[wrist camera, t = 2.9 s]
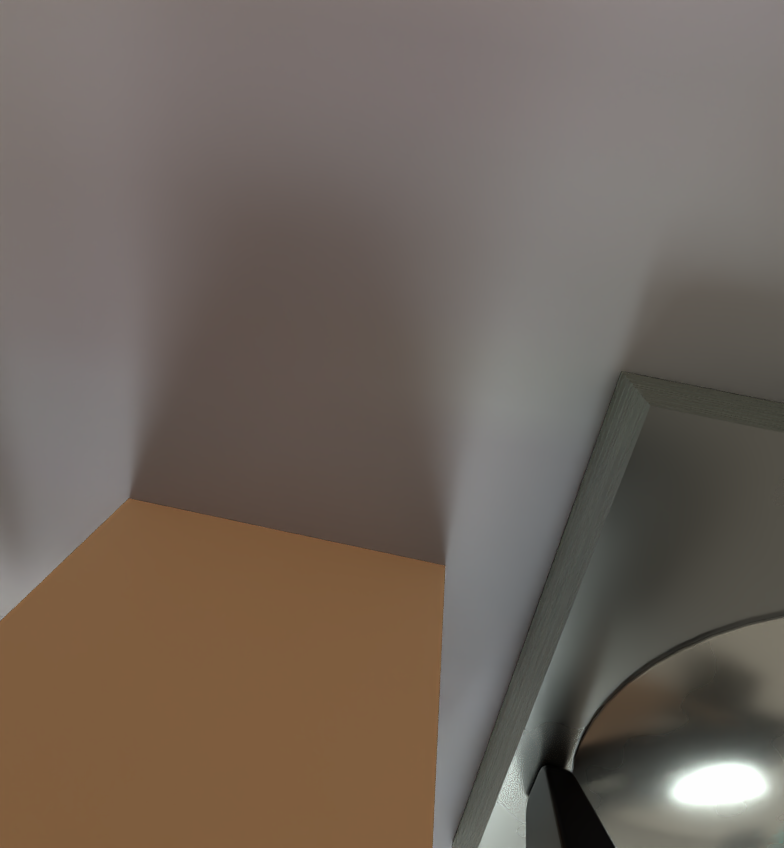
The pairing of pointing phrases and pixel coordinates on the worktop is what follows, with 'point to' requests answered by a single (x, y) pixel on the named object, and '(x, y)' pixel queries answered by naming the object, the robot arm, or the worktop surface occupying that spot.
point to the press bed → (657, 634)
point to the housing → (221, 691)
